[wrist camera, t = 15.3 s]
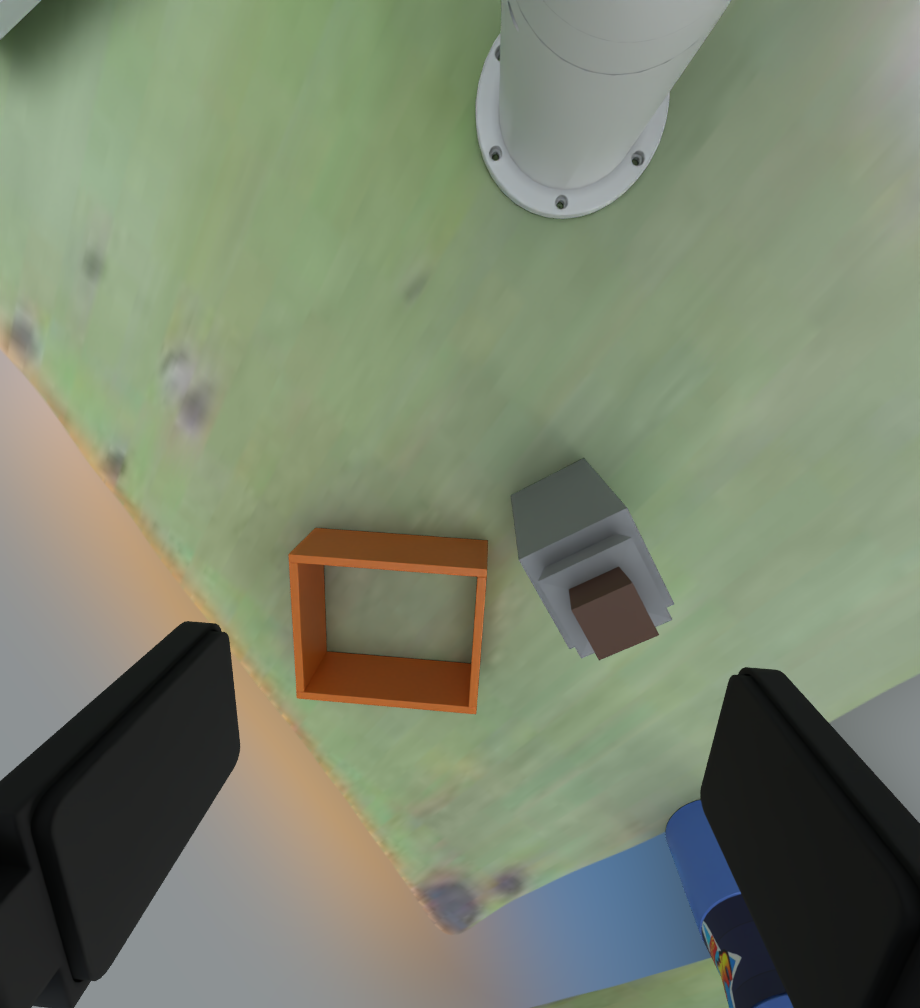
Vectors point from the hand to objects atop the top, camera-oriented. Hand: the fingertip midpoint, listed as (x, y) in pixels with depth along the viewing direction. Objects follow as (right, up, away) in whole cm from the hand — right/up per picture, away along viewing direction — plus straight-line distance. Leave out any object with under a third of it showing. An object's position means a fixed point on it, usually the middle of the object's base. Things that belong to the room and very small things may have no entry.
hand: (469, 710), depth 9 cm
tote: (-6, -5, +36) cm, 37 cm away
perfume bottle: (+9, +3, +32) cm, 34 cm away
